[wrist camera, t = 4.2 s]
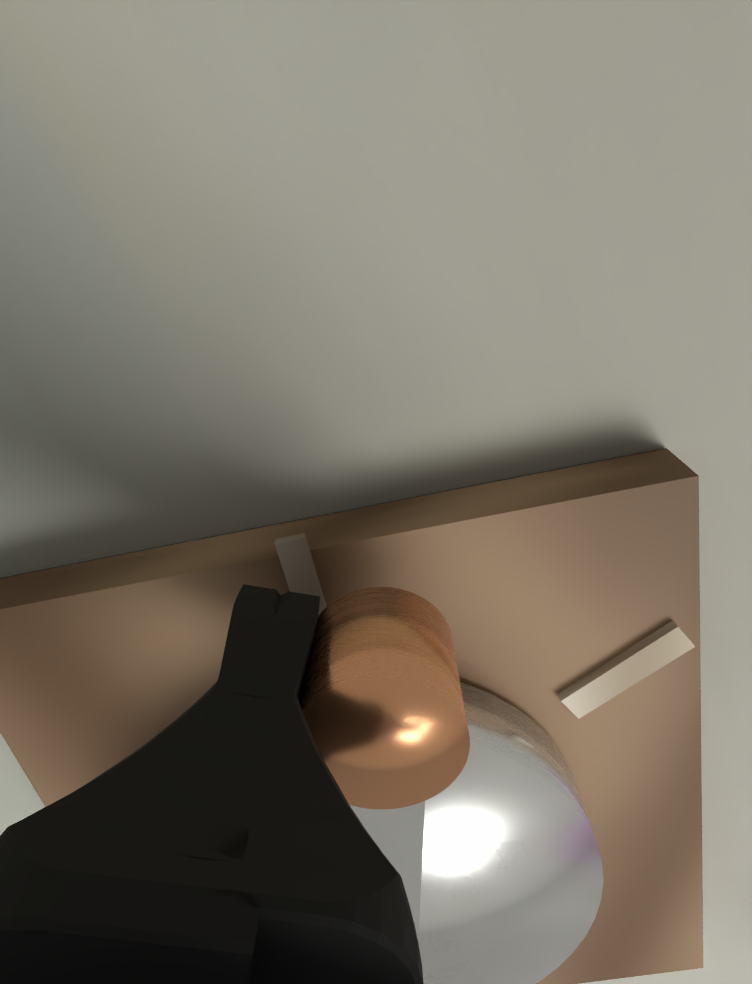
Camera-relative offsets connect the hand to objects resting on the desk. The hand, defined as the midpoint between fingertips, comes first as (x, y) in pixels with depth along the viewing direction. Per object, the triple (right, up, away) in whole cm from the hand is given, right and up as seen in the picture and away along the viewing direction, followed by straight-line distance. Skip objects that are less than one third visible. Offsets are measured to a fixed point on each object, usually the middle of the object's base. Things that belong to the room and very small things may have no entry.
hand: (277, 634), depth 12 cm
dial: (+2, -4, +3) cm, 6 cm away
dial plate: (+2, -5, +6) cm, 8 cm away
